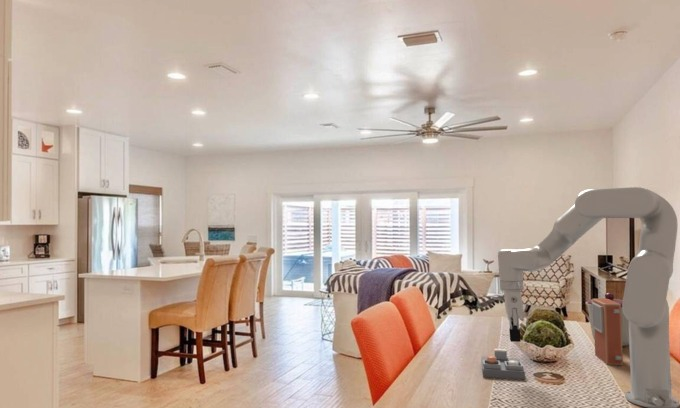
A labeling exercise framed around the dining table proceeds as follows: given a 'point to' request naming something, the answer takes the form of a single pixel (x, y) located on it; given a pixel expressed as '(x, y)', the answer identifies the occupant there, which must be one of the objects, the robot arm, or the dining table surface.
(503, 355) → the paddle
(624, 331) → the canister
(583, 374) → the dining table surface
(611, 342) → the control panel
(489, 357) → the terracotta button
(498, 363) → the switch board
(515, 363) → the white button
